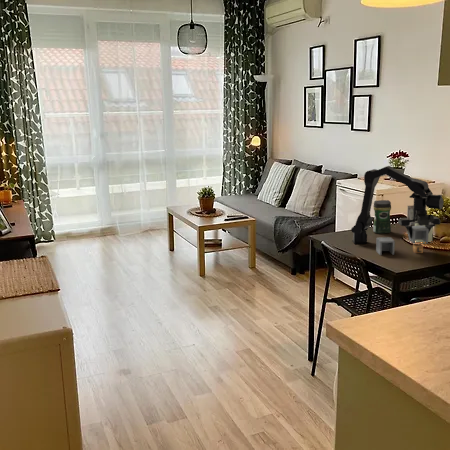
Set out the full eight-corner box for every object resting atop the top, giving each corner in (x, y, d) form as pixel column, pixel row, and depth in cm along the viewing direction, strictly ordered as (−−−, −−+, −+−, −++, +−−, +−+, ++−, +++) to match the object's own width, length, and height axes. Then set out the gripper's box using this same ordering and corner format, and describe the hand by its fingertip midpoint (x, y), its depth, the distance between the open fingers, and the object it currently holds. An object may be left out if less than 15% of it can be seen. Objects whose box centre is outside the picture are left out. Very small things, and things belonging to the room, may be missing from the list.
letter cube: (415, 253, 252) (415, 246, 251) (412, 251, 256) (413, 244, 255) (422, 252, 252) (423, 245, 251) (420, 250, 256) (420, 243, 255)
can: (434, 243, 266) (435, 221, 263) (415, 243, 268) (416, 221, 265) (430, 238, 275) (431, 217, 272) (412, 238, 277) (413, 217, 274)
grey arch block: (413, 243, 250) (414, 229, 248) (408, 239, 256) (409, 226, 255) (427, 242, 249) (428, 229, 248) (422, 239, 256) (423, 225, 255)
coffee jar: (388, 230, 296) (389, 198, 291) (392, 233, 288) (393, 201, 284) (371, 230, 297) (372, 199, 292) (374, 234, 289) (375, 202, 284)
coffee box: (421, 237, 278) (422, 208, 274) (408, 237, 279) (409, 208, 276) (418, 233, 287) (419, 205, 283) (406, 233, 288) (407, 205, 284)
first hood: (379, 255, 251) (380, 241, 250) (376, 251, 258) (376, 237, 257) (394, 254, 251) (394, 240, 250) (390, 250, 258) (390, 237, 256)
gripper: (405, 211, 241) (404, 243, 245) (445, 209, 241) (443, 241, 244) (398, 206, 252) (397, 237, 256) (436, 205, 252) (435, 235, 255)
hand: (418, 238), depth 253 cm, fingers closed on grey arch block, 7 cm apart
